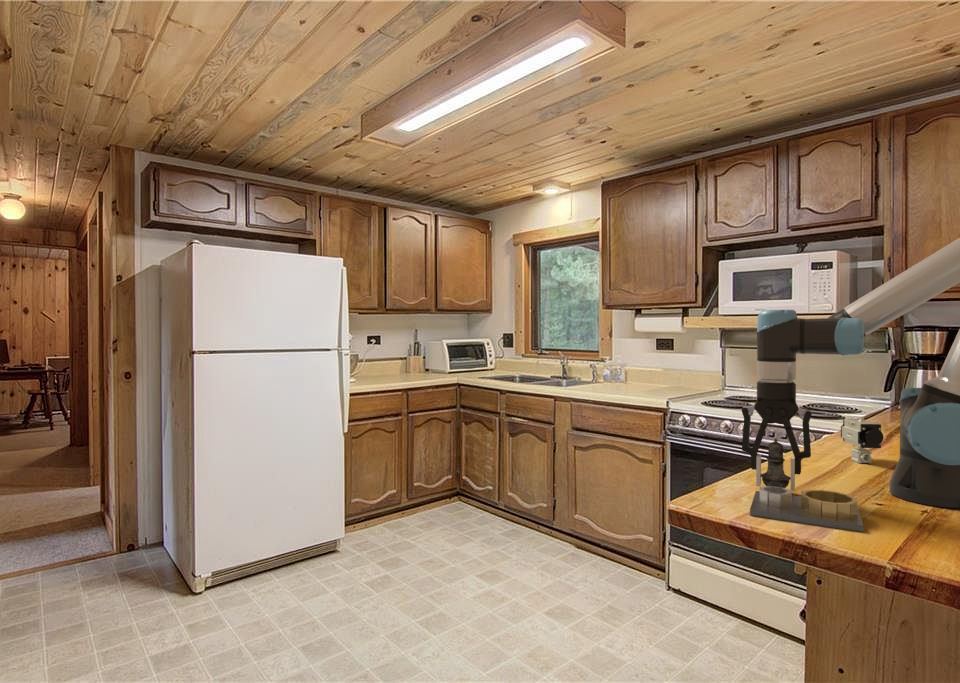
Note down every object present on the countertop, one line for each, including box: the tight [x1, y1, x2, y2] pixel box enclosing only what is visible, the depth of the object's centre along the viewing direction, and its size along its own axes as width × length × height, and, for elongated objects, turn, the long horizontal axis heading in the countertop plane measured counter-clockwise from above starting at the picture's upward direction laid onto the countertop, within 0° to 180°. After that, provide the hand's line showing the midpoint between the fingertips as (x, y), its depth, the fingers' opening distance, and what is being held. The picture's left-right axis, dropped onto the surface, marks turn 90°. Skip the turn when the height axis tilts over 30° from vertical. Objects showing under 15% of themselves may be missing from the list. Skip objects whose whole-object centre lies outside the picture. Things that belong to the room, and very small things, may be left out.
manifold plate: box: [749, 485, 864, 533], centre depth 109 cm, size 18×14×4 cm
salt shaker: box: [761, 437, 791, 489], centre depth 122 cm, size 6×6×12 cm
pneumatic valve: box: [840, 416, 885, 464], centre depth 149 cm, size 6×12×12 cm, turn 174°
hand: (775, 486), depth 122 cm, fingers closed on salt shaker, 6 cm apart
